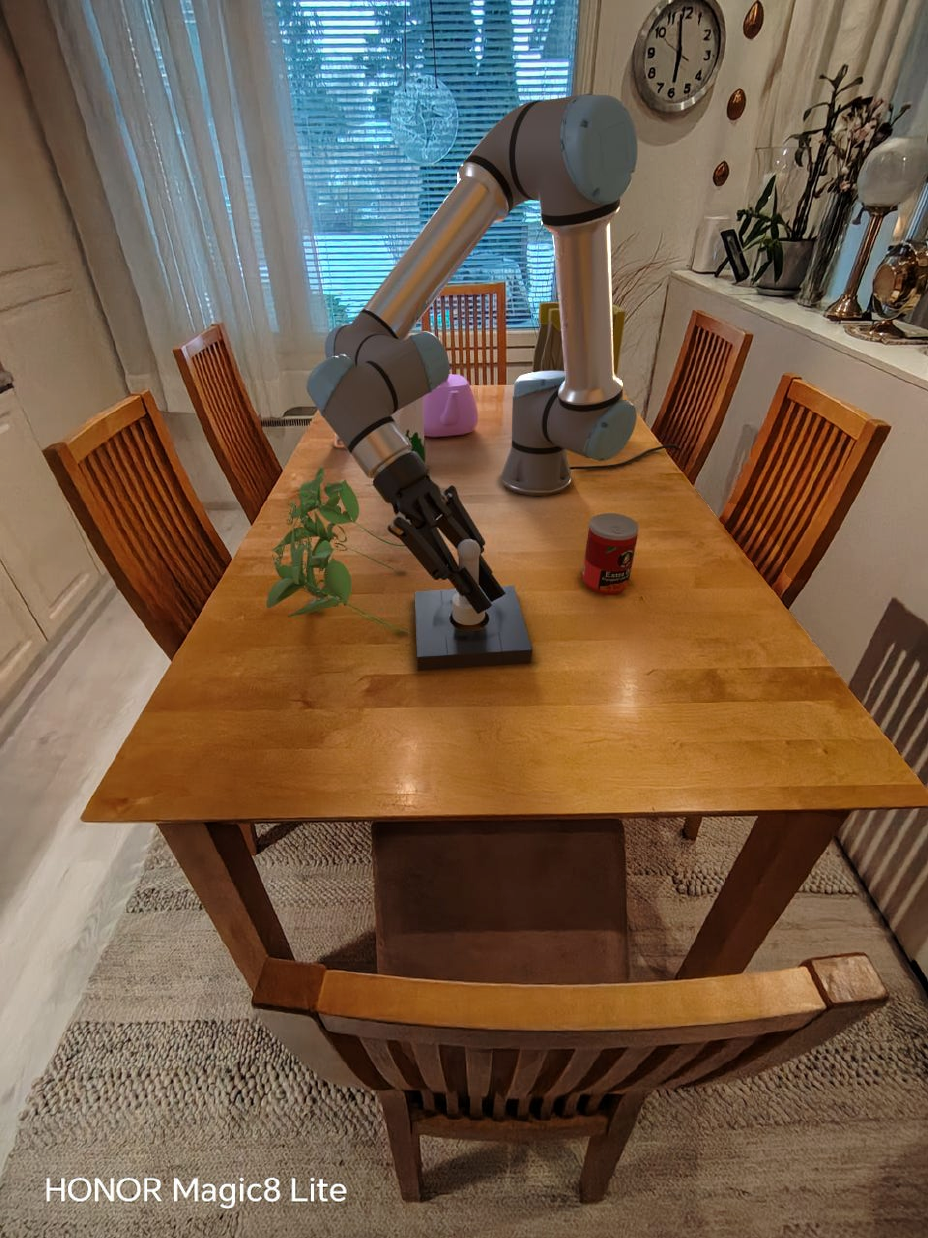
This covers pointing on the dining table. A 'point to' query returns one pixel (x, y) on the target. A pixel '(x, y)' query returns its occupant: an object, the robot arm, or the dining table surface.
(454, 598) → the white peg with base
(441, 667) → the plate
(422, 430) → the milk carton
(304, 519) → the plant cuttings
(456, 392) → the teapot
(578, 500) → the dining table surface
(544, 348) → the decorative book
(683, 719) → the dining table surface
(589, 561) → the canned food
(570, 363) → the robot arm
